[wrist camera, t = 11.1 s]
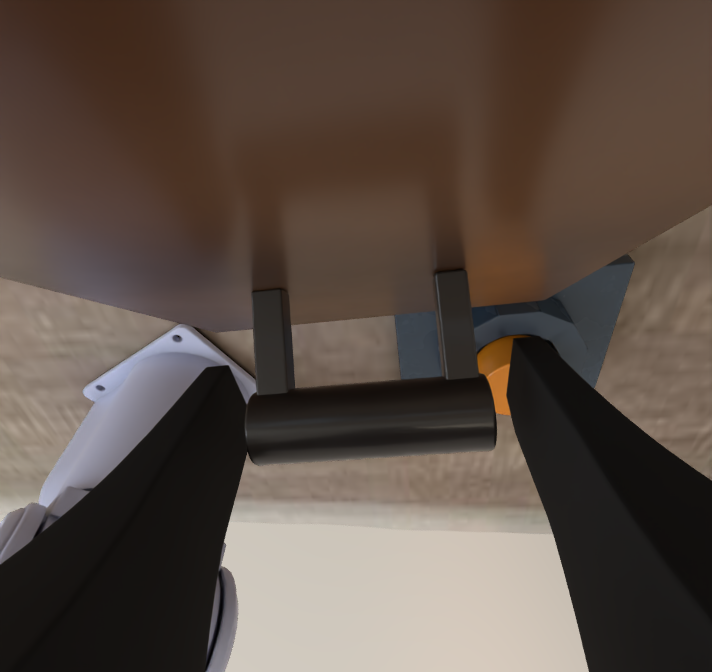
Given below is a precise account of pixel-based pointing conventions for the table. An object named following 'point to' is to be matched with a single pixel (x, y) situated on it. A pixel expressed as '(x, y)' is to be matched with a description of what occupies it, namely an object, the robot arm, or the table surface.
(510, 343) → the button
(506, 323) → the block
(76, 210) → the lid
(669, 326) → the table surface
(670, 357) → the table surface
